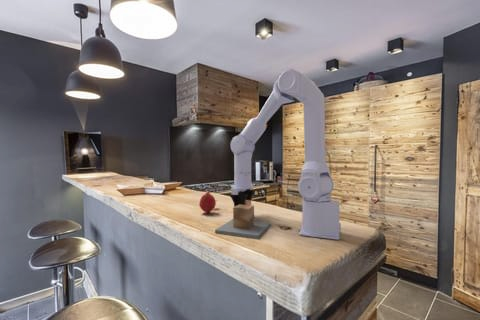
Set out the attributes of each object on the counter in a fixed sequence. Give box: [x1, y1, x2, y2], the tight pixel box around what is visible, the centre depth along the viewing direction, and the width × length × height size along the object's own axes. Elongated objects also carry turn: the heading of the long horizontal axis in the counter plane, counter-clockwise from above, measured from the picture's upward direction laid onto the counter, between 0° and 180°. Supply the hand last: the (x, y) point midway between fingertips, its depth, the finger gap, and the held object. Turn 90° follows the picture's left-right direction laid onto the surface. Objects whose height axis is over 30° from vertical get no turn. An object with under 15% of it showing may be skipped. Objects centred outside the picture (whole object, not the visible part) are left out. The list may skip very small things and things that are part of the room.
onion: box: [199, 190, 217, 214], centre depth 82 cm, size 6×6×8 cm
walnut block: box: [232, 204, 255, 229], centre depth 63 cm, size 4×4×6 cm
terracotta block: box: [233, 200, 252, 207], centre depth 76 cm, size 4×4×6 cm
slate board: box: [214, 218, 272, 240], centre depth 63 cm, size 12×12×1 cm
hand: (242, 213), depth 76 cm, fingers closed on terracotta block, 4 cm apart
